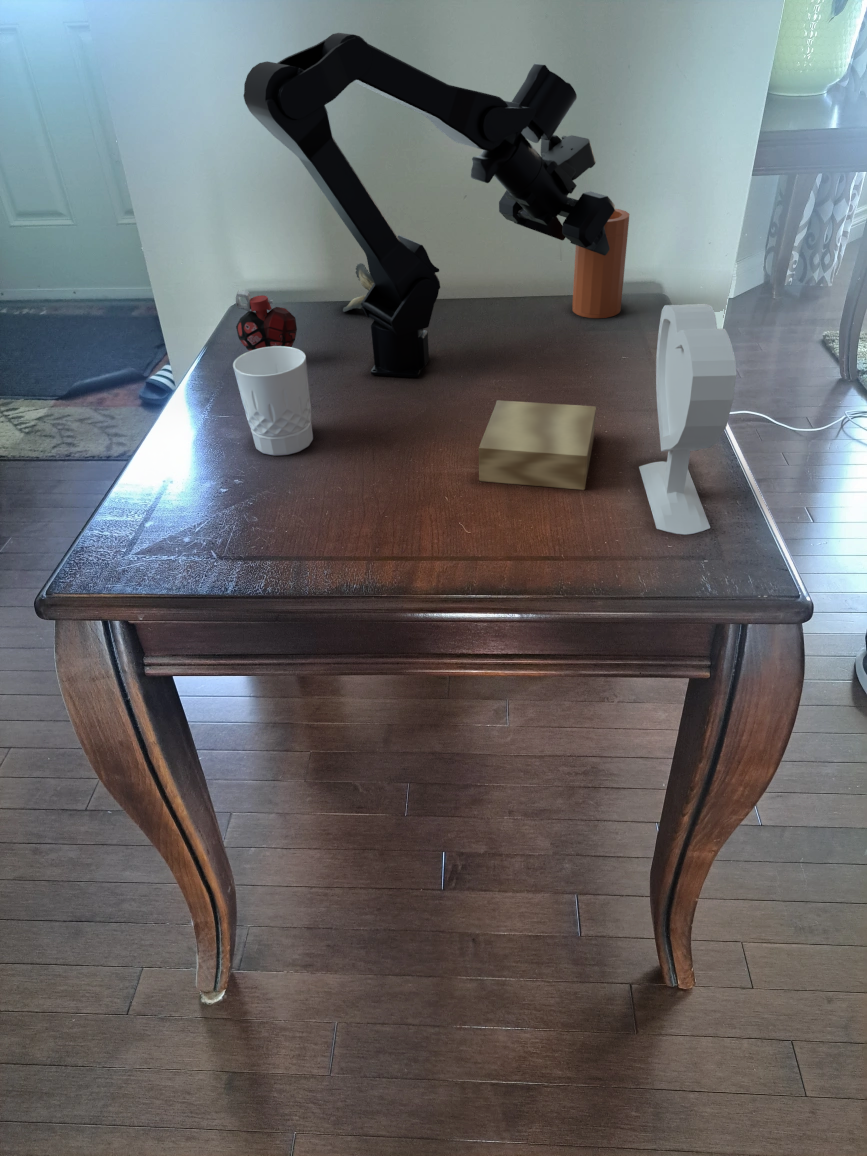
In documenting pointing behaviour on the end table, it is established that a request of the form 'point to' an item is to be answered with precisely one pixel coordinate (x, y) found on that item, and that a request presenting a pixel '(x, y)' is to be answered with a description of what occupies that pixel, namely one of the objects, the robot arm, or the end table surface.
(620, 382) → the end table surface
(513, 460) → the birch block
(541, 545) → the end table surface
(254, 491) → the end table surface
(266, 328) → the grenade
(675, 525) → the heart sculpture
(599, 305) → the jar
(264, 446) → the white cup
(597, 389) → the end table surface
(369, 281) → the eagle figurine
